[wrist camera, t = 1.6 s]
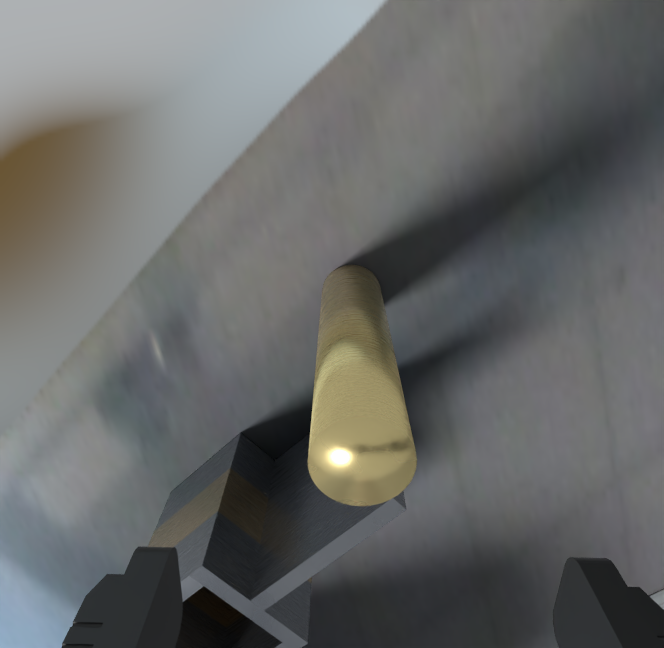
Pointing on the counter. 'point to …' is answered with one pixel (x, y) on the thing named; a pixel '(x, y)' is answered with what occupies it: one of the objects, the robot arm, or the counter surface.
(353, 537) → the hinge
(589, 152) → the counter surface
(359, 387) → the hinge pin
